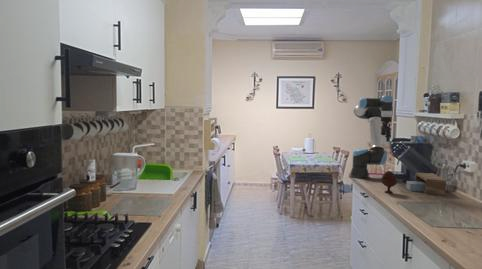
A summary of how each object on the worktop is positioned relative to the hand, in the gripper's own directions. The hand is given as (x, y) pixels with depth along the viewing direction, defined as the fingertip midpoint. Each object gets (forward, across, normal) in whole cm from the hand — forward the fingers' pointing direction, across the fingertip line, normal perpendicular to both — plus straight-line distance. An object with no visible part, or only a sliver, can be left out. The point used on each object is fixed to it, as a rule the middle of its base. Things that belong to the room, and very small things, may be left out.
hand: (385, 144), depth 282 cm
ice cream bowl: (+29, -31, +3) cm, 43 cm away
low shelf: (+29, -17, -26) cm, 43 cm away
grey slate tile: (+29, -17, -22) cm, 41 cm away
